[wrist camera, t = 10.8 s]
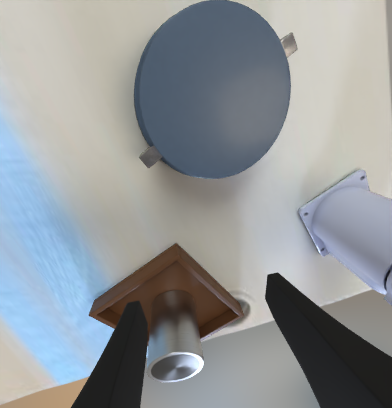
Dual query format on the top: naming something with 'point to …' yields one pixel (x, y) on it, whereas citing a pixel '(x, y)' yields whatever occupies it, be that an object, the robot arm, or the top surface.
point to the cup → (174, 338)
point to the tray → (167, 281)
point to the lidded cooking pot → (212, 89)
